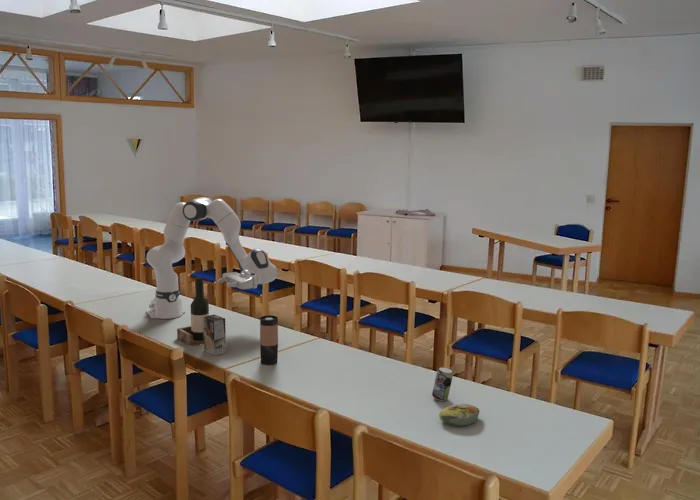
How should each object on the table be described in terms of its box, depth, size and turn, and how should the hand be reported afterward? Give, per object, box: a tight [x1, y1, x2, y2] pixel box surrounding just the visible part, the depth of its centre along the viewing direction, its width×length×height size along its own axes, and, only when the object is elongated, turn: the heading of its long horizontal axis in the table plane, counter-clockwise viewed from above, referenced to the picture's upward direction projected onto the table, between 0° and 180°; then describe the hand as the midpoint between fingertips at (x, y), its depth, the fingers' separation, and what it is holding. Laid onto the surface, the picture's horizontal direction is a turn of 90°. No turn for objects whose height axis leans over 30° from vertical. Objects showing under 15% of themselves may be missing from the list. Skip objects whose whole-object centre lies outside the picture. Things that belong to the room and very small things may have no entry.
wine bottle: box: [190, 276, 210, 341], centre depth 291 cm, size 8×8×30 cm
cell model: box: [438, 403, 481, 426], centre depth 214 cm, size 11×8×15 cm
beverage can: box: [431, 366, 454, 402], centre depth 231 cm, size 6×7×12 cm
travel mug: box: [259, 315, 279, 366], centre depth 265 cm, size 8×8×20 cm
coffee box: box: [203, 314, 227, 356], centre depth 277 cm, size 9×6×16 cm
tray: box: [176, 325, 204, 347], centre depth 294 cm, size 14×14×5 cm
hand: (222, 283), depth 299 cm, fingers open, 8 cm apart
